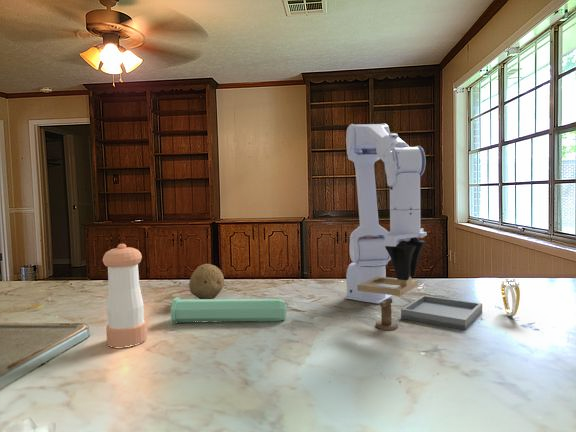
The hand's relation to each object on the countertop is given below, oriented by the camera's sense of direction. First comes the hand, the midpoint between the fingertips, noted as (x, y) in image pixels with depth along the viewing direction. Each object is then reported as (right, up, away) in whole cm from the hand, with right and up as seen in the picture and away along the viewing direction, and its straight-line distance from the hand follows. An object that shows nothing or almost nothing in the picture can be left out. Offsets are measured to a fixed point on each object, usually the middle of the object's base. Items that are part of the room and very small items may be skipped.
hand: (405, 278), depth 80 cm
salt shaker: (-55, -12, -1) cm, 56 cm away
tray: (+10, -10, +9) cm, 17 cm away
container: (-36, -11, +10) cm, 39 cm away
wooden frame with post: (-3, -3, +3) cm, 5 cm away
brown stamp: (-3, -10, +3) cm, 11 cm away
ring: (+24, -9, +7) cm, 27 cm away
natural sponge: (-44, -10, +25) cm, 52 cm away
